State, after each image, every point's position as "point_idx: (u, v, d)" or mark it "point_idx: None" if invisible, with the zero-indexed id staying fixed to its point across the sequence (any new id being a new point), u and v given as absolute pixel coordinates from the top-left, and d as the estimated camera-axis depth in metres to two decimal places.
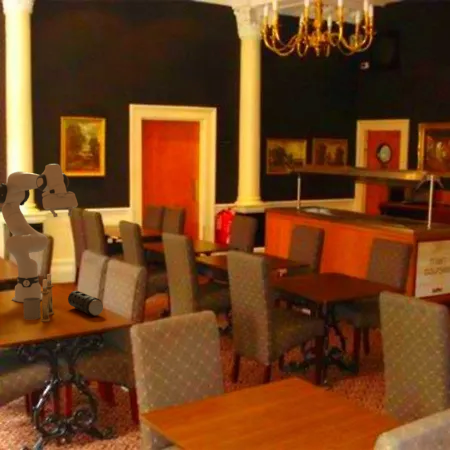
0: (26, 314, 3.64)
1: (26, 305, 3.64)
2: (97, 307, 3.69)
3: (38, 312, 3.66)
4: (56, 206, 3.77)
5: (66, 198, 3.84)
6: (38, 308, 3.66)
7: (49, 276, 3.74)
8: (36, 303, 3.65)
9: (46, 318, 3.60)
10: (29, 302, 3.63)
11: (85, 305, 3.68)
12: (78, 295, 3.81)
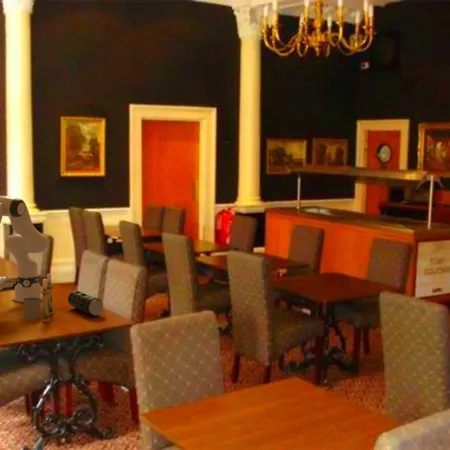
0: (26, 314, 3.64)
1: (26, 305, 3.64)
2: (97, 307, 3.69)
3: (38, 312, 3.66)
4: None
5: None
6: (38, 308, 3.66)
7: (49, 276, 3.74)
8: (36, 303, 3.65)
9: (46, 318, 3.60)
10: (29, 302, 3.63)
11: (85, 305, 3.68)
12: (78, 295, 3.81)
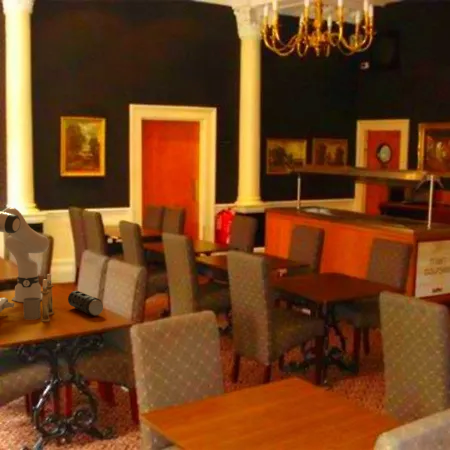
0: (26, 314, 3.64)
1: (26, 305, 3.64)
2: (97, 307, 3.69)
3: (38, 312, 3.66)
4: None
5: None
6: (38, 308, 3.66)
7: (49, 276, 3.74)
8: (36, 303, 3.65)
9: (46, 318, 3.60)
10: (29, 302, 3.63)
11: (85, 305, 3.68)
12: (78, 295, 3.81)
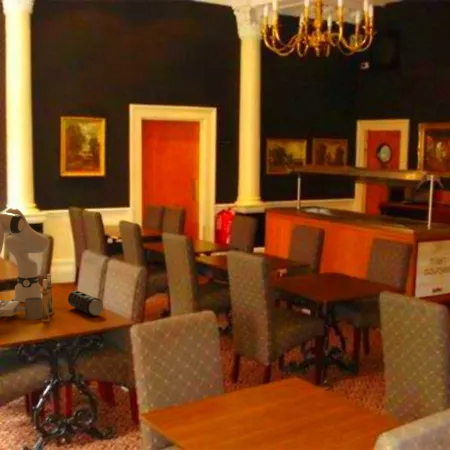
0: (28, 314, 3.64)
1: (28, 305, 3.64)
2: (97, 307, 3.69)
3: (40, 312, 3.66)
4: None
5: None
6: (40, 308, 3.66)
7: (49, 276, 3.74)
8: (37, 303, 3.65)
9: (46, 318, 3.60)
10: (31, 302, 3.63)
11: (85, 305, 3.68)
12: (78, 295, 3.81)
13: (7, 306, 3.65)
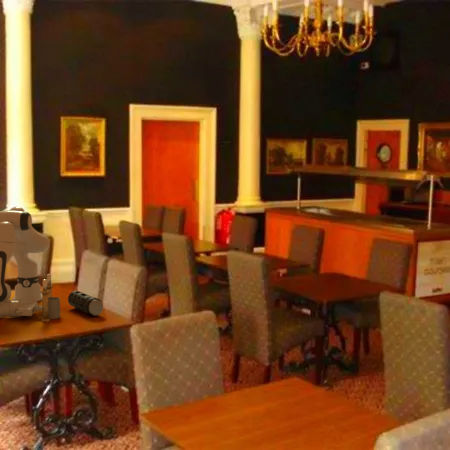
0: None
1: None
2: (97, 307, 3.69)
3: (58, 312, 3.67)
4: None
5: None
6: (58, 308, 3.67)
7: (49, 276, 3.74)
8: (55, 303, 3.66)
9: (46, 318, 3.60)
10: (49, 302, 3.64)
11: (85, 305, 3.68)
12: (78, 295, 3.81)
13: (25, 306, 3.66)
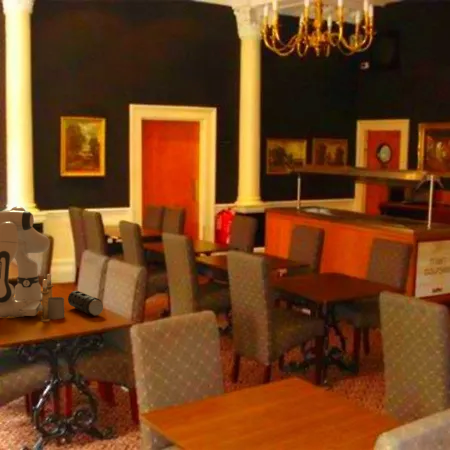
0: (50, 314, 3.66)
1: (50, 305, 3.65)
2: (97, 307, 3.69)
3: (62, 312, 3.68)
4: None
5: None
6: (62, 308, 3.67)
7: (49, 276, 3.74)
8: (60, 303, 3.66)
9: (46, 318, 3.60)
10: (53, 302, 3.65)
11: (85, 305, 3.68)
12: (78, 295, 3.81)
13: (29, 306, 3.66)
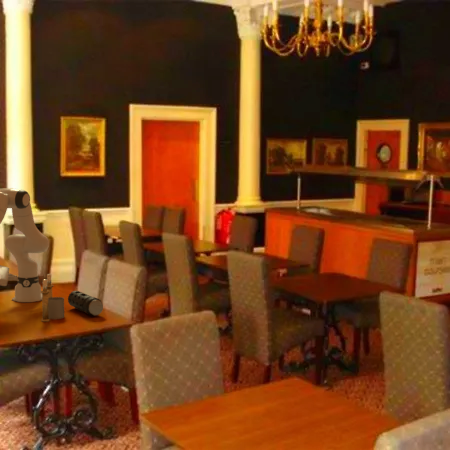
0: (50, 314, 3.66)
1: (50, 305, 3.65)
2: (97, 307, 3.69)
3: (62, 312, 3.68)
4: None
5: None
6: (62, 308, 3.67)
7: (49, 276, 3.74)
8: (60, 303, 3.66)
9: (46, 318, 3.60)
10: (53, 302, 3.65)
11: (85, 305, 3.68)
12: (78, 295, 3.81)
13: (0, 273, 3.65)
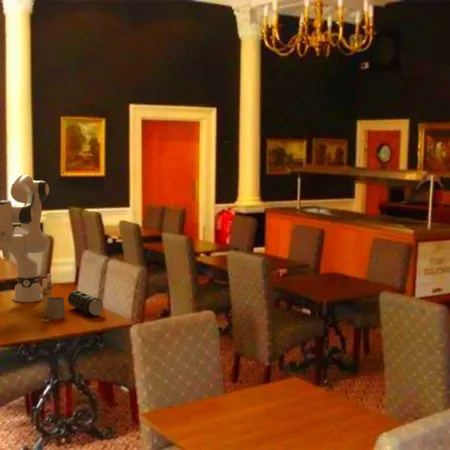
0: (50, 314, 3.66)
1: (50, 305, 3.65)
2: (97, 307, 3.69)
3: (62, 312, 3.68)
4: None
5: None
6: (62, 308, 3.67)
7: (49, 276, 3.74)
8: (60, 303, 3.66)
9: (46, 318, 3.60)
10: (53, 302, 3.65)
11: (85, 305, 3.68)
12: (78, 295, 3.81)
13: (7, 240, 3.71)
